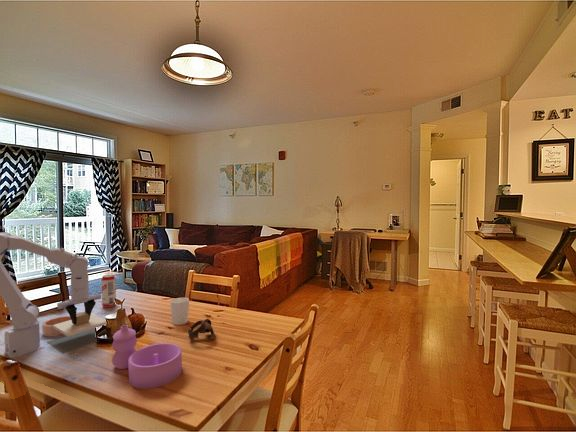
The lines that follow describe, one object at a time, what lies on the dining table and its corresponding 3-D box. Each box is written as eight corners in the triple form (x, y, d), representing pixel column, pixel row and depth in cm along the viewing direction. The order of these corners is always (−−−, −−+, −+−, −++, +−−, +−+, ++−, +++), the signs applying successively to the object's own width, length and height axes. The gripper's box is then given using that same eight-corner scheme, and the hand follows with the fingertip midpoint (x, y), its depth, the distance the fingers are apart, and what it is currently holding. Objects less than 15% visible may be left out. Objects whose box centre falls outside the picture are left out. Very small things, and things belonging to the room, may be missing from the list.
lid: (67, 336, 110) (67, 324, 110) (53, 327, 118) (52, 316, 118) (108, 323, 121) (108, 312, 121) (92, 316, 129) (92, 305, 129)
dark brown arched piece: (213, 345, 116) (201, 329, 114) (193, 354, 117) (181, 338, 115) (221, 325, 127) (211, 310, 125) (202, 333, 129) (192, 318, 127)
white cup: (185, 325, 133) (185, 303, 133) (168, 325, 134) (167, 303, 133) (191, 318, 141) (191, 297, 141) (175, 318, 141) (174, 297, 141)
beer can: (105, 309, 154) (104, 277, 154) (100, 306, 158) (99, 276, 157) (118, 305, 159) (117, 275, 159) (112, 303, 163) (112, 273, 162)
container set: (192, 367, 100) (191, 327, 99) (155, 394, 86) (154, 348, 85) (136, 352, 110) (135, 316, 109) (95, 374, 96) (94, 333, 95)
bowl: (48, 339, 120) (48, 328, 120) (39, 332, 126) (38, 322, 126) (80, 330, 129) (79, 319, 129) (69, 324, 135) (69, 314, 135)
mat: (62, 354, 108) (62, 353, 108) (46, 342, 117) (46, 341, 117) (115, 336, 123) (115, 335, 123) (97, 327, 132) (97, 326, 132)
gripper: (62, 293, 111) (63, 330, 111) (104, 284, 123) (105, 318, 123) (54, 290, 115) (55, 325, 115) (96, 282, 127) (97, 314, 127)
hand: (80, 321), depth 120 cm, fingers closed on lid, 4 cm apart
